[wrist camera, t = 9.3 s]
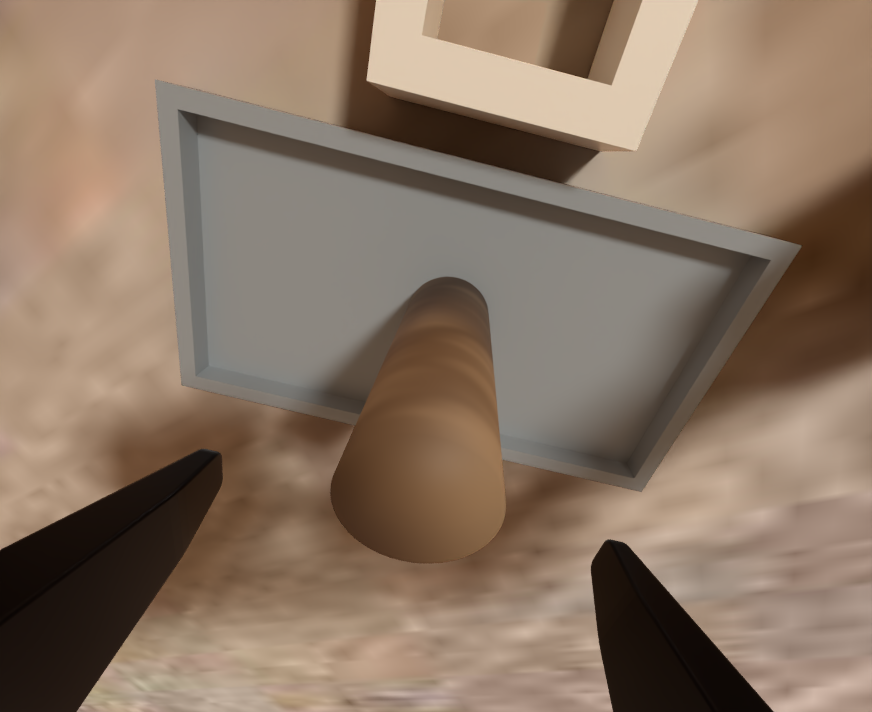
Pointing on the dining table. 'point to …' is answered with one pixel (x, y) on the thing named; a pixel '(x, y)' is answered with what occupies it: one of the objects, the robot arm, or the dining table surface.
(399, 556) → the pin
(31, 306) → the dining table surface
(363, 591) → the dining table surface
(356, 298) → the tray
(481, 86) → the square frame
